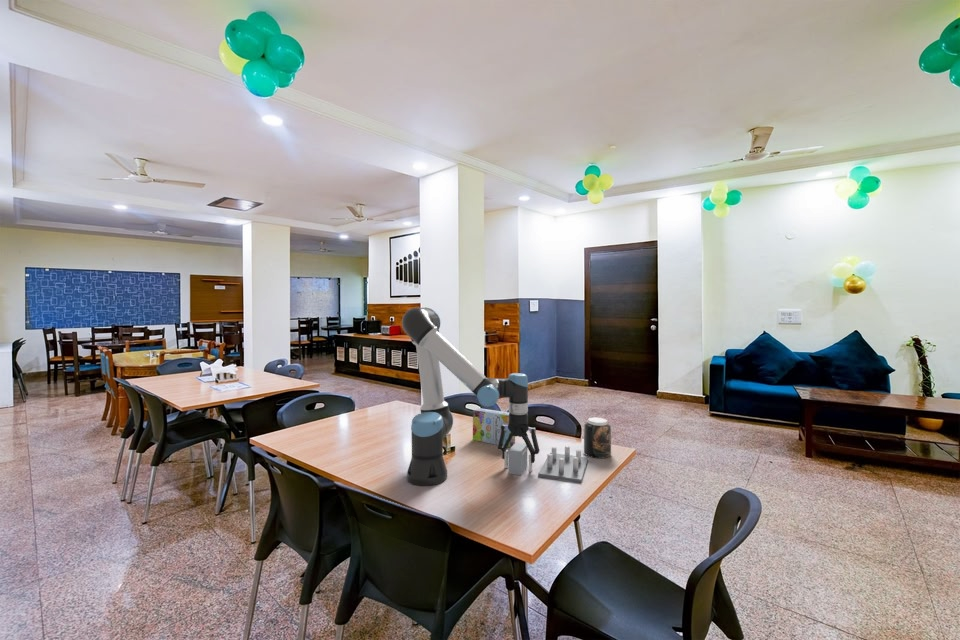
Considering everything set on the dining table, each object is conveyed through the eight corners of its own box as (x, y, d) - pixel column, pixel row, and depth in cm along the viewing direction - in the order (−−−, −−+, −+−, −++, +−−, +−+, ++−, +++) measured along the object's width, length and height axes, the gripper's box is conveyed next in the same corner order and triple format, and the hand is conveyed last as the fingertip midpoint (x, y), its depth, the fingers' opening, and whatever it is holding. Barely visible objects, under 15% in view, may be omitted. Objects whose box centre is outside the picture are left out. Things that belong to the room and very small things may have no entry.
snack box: (515, 444, 189) (515, 413, 189) (510, 448, 184) (510, 415, 184) (478, 437, 200) (478, 407, 200) (471, 440, 196) (472, 409, 195)
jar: (578, 453, 177) (578, 420, 177) (591, 447, 185) (591, 415, 185) (603, 460, 169) (604, 425, 169) (615, 453, 177) (616, 419, 177)
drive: (508, 473, 155) (508, 450, 155) (515, 464, 165) (515, 442, 165) (521, 475, 154) (521, 451, 153) (527, 465, 163) (527, 443, 163)
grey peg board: (538, 476, 152) (538, 460, 152) (550, 455, 175) (550, 441, 175) (581, 482, 147) (581, 466, 146) (588, 460, 169) (588, 445, 169)
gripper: (489, 412, 159) (489, 468, 160) (543, 417, 151) (543, 476, 152) (495, 408, 166) (495, 461, 167) (547, 412, 158) (547, 469, 159)
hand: (518, 468), depth 159 cm, fingers open, 9 cm apart
